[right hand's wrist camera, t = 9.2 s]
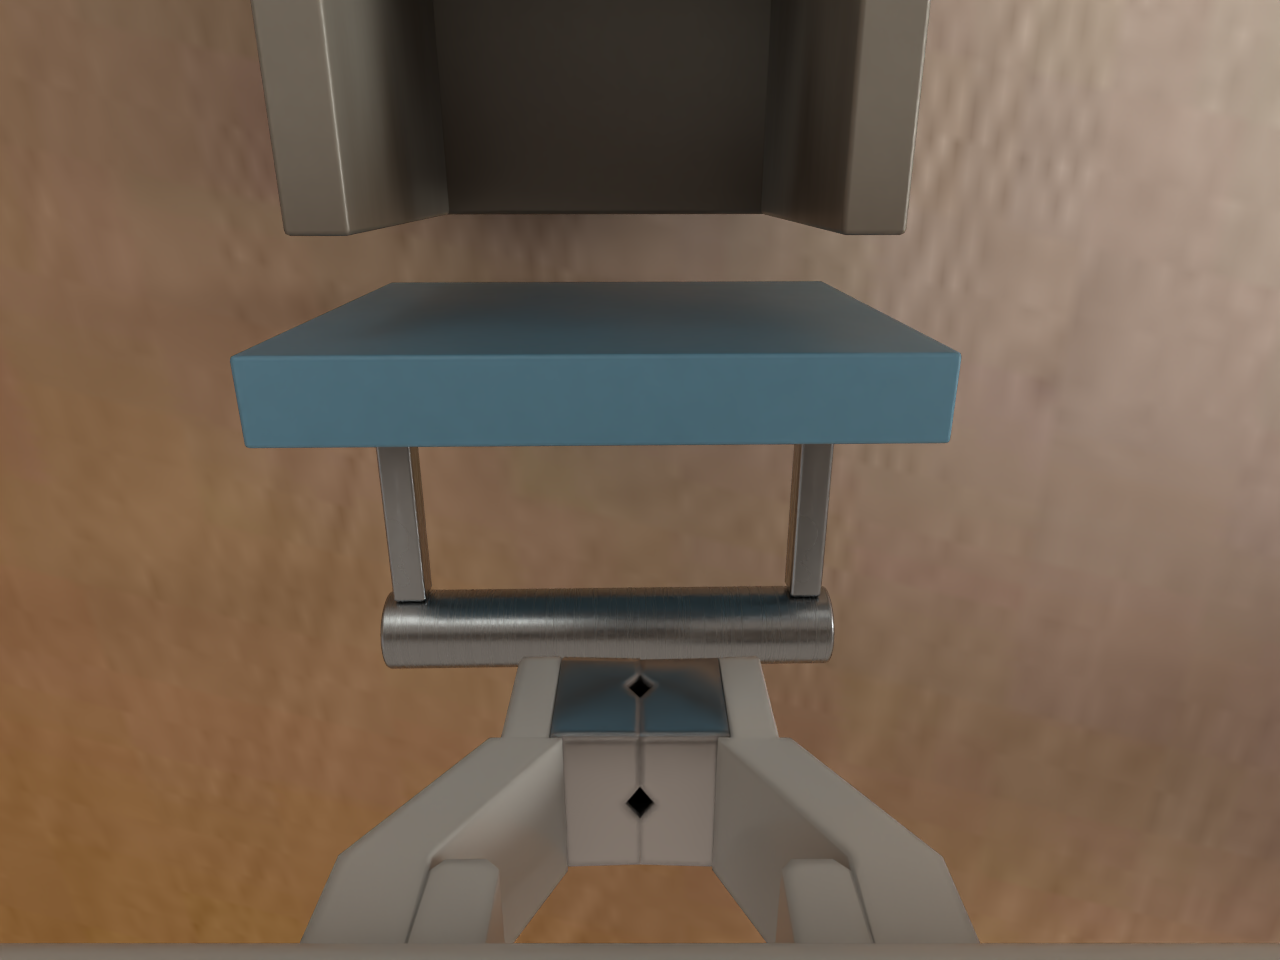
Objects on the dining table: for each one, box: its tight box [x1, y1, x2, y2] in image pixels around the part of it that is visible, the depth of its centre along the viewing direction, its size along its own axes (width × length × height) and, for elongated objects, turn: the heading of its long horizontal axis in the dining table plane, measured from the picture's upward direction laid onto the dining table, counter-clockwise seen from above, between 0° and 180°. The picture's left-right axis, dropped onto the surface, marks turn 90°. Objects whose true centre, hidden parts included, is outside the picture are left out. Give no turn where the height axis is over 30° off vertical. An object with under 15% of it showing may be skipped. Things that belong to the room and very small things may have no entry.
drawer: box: [230, 0, 961, 669], centre depth 12 cm, size 21×9×8 cm, turn 0°
